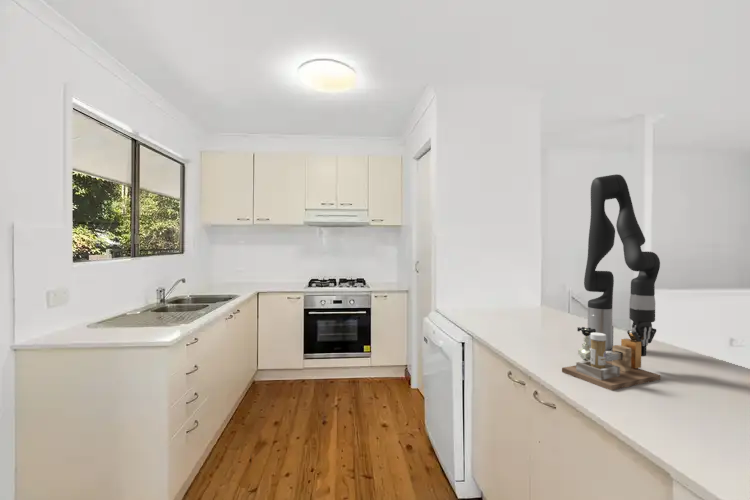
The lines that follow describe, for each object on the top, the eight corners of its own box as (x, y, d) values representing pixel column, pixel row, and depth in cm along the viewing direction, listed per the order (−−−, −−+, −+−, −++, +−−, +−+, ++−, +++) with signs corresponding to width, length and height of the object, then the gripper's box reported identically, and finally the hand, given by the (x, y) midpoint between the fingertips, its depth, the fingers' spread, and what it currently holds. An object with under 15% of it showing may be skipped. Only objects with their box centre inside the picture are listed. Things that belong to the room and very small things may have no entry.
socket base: (608, 363, 142) (608, 339, 142) (660, 379, 126) (660, 351, 126) (561, 372, 133) (562, 345, 133) (611, 390, 117) (611, 360, 116)
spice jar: (605, 376, 124) (606, 335, 124) (589, 374, 126) (590, 334, 126) (605, 372, 128) (606, 333, 128) (590, 370, 130) (590, 331, 130)
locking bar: (626, 363, 137) (626, 338, 136) (641, 367, 132) (641, 341, 132) (597, 368, 131) (598, 342, 131) (611, 373, 126) (612, 346, 126)
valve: (591, 357, 151) (591, 327, 150) (599, 362, 144) (599, 330, 144) (573, 356, 151) (574, 326, 151) (581, 361, 145) (581, 330, 145)
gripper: (643, 304, 141) (642, 350, 142) (619, 307, 136) (619, 354, 137) (665, 307, 135) (664, 356, 135) (641, 310, 129) (640, 360, 130)
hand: (641, 355), depth 136 cm, fingers closed
